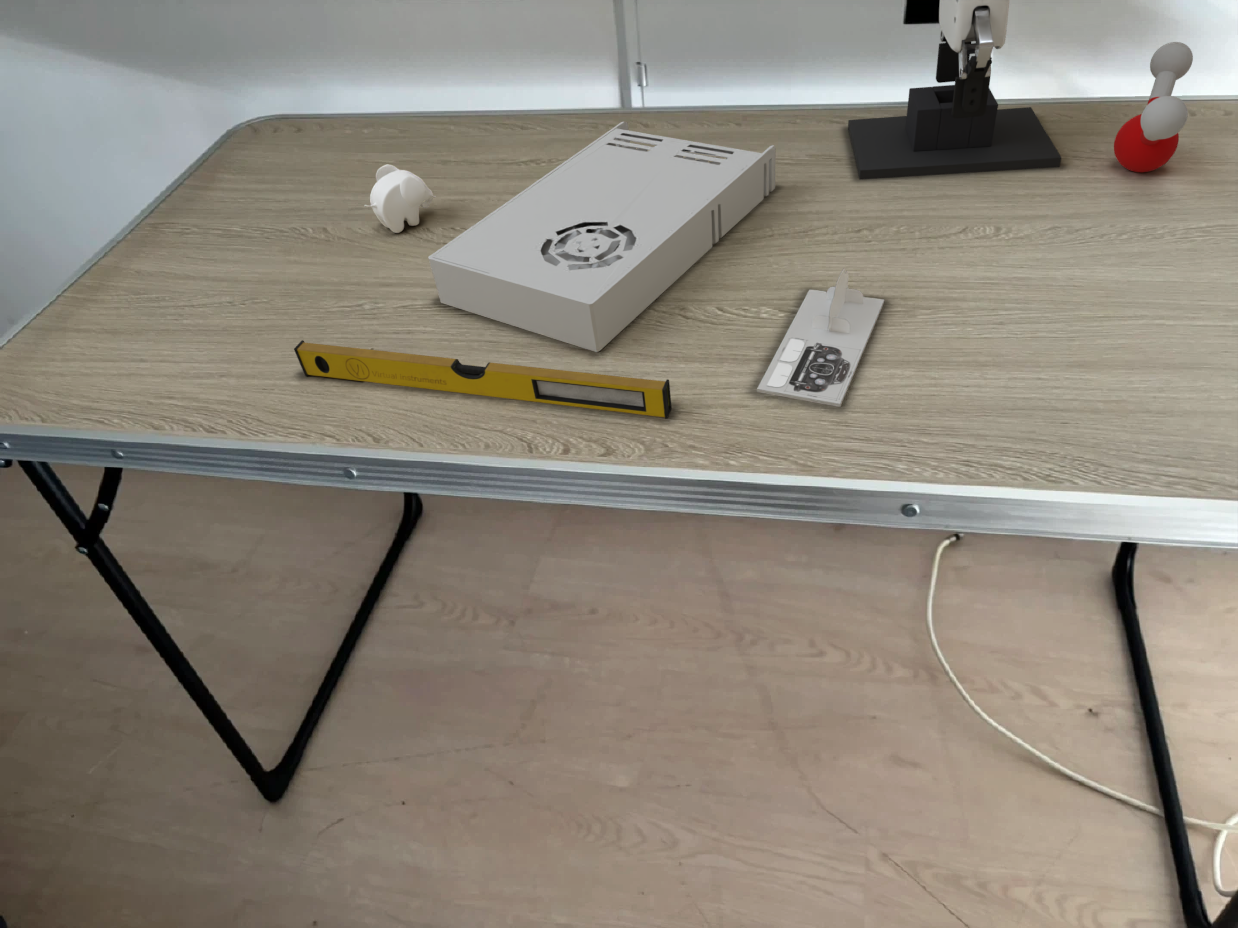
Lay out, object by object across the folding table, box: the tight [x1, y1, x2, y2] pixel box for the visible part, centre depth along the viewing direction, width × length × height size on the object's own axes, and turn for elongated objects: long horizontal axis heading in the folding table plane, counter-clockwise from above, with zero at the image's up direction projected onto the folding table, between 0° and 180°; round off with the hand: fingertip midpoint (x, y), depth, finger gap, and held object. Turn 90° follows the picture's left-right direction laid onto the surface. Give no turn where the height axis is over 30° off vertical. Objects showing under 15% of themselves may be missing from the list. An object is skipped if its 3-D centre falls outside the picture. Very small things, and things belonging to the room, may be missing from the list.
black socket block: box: [906, 84, 999, 151], centre depth 99 cm, size 8×6×4 cm
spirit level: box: [293, 339, 673, 420], centre depth 76 cm, size 33×1×3 cm, turn 72°
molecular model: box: [1113, 41, 1194, 173], centre depth 90 cm, size 18×6×10 cm, turn 154°
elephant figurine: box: [364, 163, 437, 234], centre depth 100 cm, size 7×8×6 cm
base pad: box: [847, 106, 1062, 181], centre depth 100 cm, size 20×13×4 cm, turn 85°
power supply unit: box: [427, 121, 777, 353], centre depth 92 cm, size 19×33×5 cm, turn 146°
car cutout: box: [756, 267, 886, 408], centre depth 75 cm, size 15×7×4 cm, turn 156°
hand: (959, 97), depth 97 cm, fingers open, 9 cm apart
